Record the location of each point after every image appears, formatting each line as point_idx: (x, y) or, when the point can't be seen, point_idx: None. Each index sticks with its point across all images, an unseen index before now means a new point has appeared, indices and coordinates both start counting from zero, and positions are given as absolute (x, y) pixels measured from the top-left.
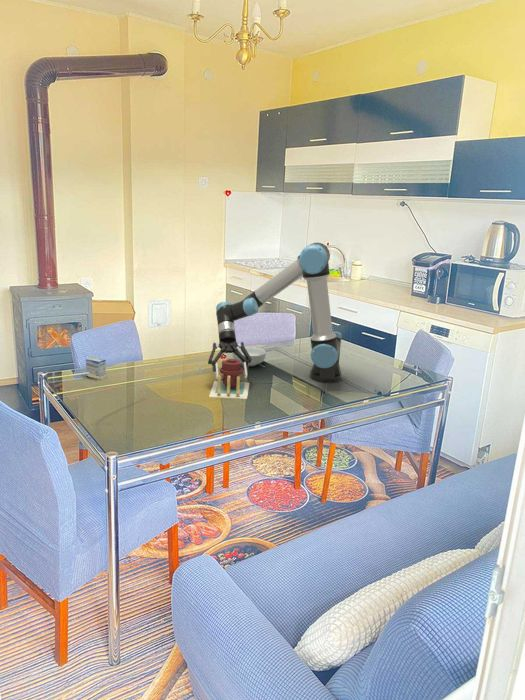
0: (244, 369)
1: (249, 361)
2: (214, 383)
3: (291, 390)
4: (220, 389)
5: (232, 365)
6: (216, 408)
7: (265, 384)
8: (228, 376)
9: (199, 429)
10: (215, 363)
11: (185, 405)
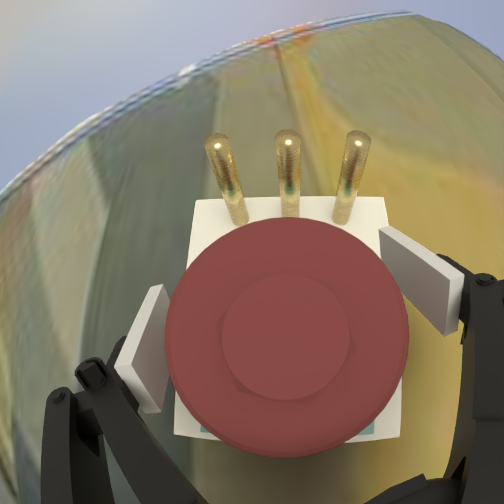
0: (157, 334)
1: (80, 393)
2: (395, 394)
3: (19, 347)
4: (336, 194)
5: (266, 224)
6: (323, 128)
7: None
8: (289, 131)
9: (333, 43)
10: (462, 282)
11: (437, 144)
